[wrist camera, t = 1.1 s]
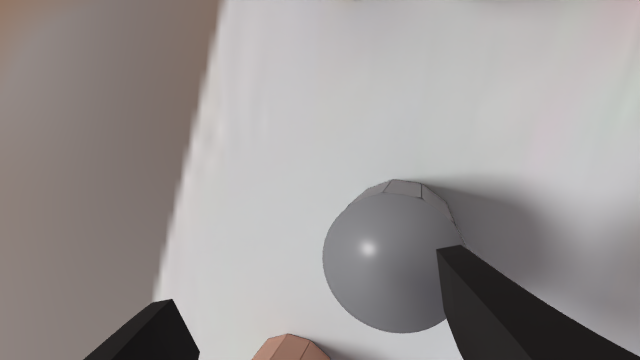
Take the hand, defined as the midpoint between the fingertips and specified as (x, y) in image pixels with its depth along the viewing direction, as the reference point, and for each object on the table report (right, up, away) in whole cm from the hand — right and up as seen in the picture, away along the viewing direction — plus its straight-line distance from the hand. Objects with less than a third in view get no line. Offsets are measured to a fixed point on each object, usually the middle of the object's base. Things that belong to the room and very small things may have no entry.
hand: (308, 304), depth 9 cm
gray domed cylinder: (+5, 0, +9) cm, 10 cm away
